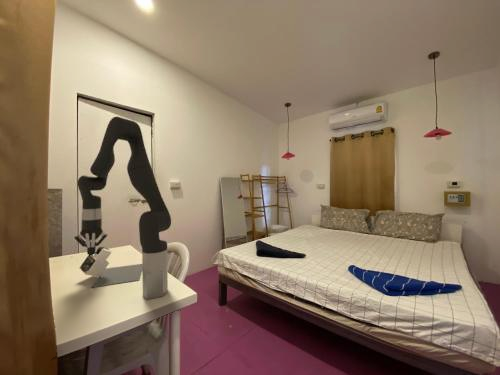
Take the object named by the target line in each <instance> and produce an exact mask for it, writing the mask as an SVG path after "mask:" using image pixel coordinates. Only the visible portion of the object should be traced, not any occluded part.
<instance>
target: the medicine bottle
mask: <svg viewBox="0 0 500 375" xmlns="http://www.w3.org/2000/svg"><path fill="white" fill-rule="evenodd" d="M111 254H112V250H111V249H109V248H107V247H104V246H99V247H97V249H96V252H95V253H94V254H93V255H89V254H87V257H85V259H84V261H83V262H82V263H81V264H80V266H79V270H81V272H83V274H84V275H86V276H92V277H97V278H99V277H100V276H101V275H102V273H103V272H104V270H105V269H106V268H108V266H109V264H110V262H109V261H108V258H109V257H110V255H111Z"/></svg>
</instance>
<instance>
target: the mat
mask: <svg viewBox="0 0 500 375" xmlns="http://www.w3.org/2000/svg"><path fill="white" fill-rule="evenodd" d="M141 274H142V263H138V264H129V265H123V266H115V267H106V269H105V270H104V272H103V273H102V275H101V276H100V277H97V279H96V280H95V282H94V283H93V284H92V286H91V287H90V288H91V289H93V288H99V287H107V286H112V285H118V284H124V283H133V282H138V281H140V279H141Z"/></svg>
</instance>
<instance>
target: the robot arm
mask: <svg viewBox="0 0 500 375" xmlns="http://www.w3.org/2000/svg"><path fill="white" fill-rule="evenodd" d="M118 140H121V141H126V142H127V143H128V146H129V148H130V152H131V153H130V157H129V160H128V162H127V166H126V169H127V170H126V171H127V175H128V177H129V180H130V183H131V185H132V187H133V188H134V189H135V191H136V192H137V193H138V194H139V195H140V196H142V198H143V199H145V201H146V203H147V205H148V207H149V209H150V210H149V211H144V212H142V214H141V215H140V217H139V219H138V220H139V221H138V229H139V230H138V231H139V232H138V234H139V244H140V246H141V249H142V252H141V253H142V255H141V256H142V259H141V260H142V261H141V264H142V272H141V274H142V297H143V298H145V300H151V299H155V298H160V297H164V296H165V294H167V293H168V287H169V285H168V284H169V283H168V282H169V280H168V277H169V276H168V275H169V274H168V271H169V270H168V242H167V241H166V240H163V239H160V233H161V232H165V231H168V230H169V229H170V227H171V226H172V216H171V214H170V211H169V209H168V208H167V205H166V202H165V201H164V198H163V197H162V194H161V192H160V188H159V186H158V183H157V180H156V177H155V174H154V171H153V169H152V165H151V162H150V160H149V159H150V158H149V157H148V153H147V149H146V147H145V142H144V138H143V132H142V129H141V127H140V125H139V124H138V122H136V121H134V120H131V119H129V118H125V117H122V116H117V115H116V116H114V117H111V119H110V120H109V122H108V124H107V127H106V129H105V132H104V135H103V139H102V142H101V145H100V149H99V151H98V153H97V155H96V158H95V159H94V160H93V162H92V165H91V166H90V169H89V170H90V173H91V174H92V175H89V174H88V175H81V176H80V177H79V178H78V180H77V188H78V190H79V192H80V196H81V200H82V206H81V208H82V210H81V230H80V232H79V234H77V235H76V236H74V237H73V238H74V239H75V240H76V242H78V243H79V245H80V246H82V247H85V248H87V250H86V253H87V254H86V255H94V254H95V252H96V251H97V249H96V248H97V246H100V245H101V244H102V242H103V241H104V240H105V239H106V238H107V236H108V235H109V234H108V233H105V232H104V230H103V229H102V228H103V226H102V225H103V222H102V221H103V218H102V217H103V212H102V198H101V196H99V195H95V194H93V193H92V192H91V191H97V192H98V191H102V190H104V189H105V188H106V186H107V182H108V181H107V180H108V176H109V173H110V171H111V170H112V168H113V167H114V165H115V161H116V158H115V151H114V147H115V144H116V143H117V142H118ZM99 237H100V239H99V240H98V238H99ZM97 240H98V241H97Z"/></svg>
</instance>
